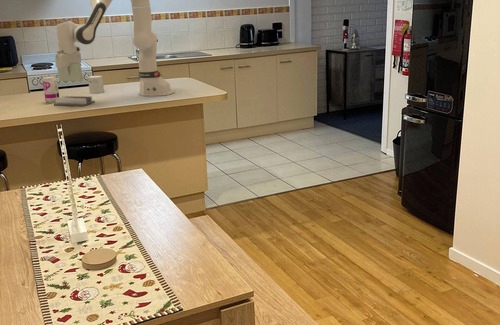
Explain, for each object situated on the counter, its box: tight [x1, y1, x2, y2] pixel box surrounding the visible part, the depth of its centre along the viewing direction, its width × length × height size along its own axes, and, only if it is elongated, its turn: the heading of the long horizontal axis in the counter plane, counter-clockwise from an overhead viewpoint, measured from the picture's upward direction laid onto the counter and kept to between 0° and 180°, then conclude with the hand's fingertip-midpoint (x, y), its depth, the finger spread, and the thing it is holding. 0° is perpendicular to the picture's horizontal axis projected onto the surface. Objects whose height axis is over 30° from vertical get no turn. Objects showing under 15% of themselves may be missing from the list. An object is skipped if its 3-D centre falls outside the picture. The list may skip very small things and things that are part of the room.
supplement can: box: [42, 76, 60, 104], centre depth 325 cm, size 8×8×15 cm
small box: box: [87, 75, 105, 94], centre depth 353 cm, size 8×6×10 cm
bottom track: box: [53, 95, 96, 107], centre depth 318 cm, size 20×12×4 cm, turn 73°
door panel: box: [56, 62, 84, 82], centre depth 313 cm, size 14×3×10 cm, turn 73°
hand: (70, 73), depth 313 cm, fingers closed on door panel, 3 cm apart
